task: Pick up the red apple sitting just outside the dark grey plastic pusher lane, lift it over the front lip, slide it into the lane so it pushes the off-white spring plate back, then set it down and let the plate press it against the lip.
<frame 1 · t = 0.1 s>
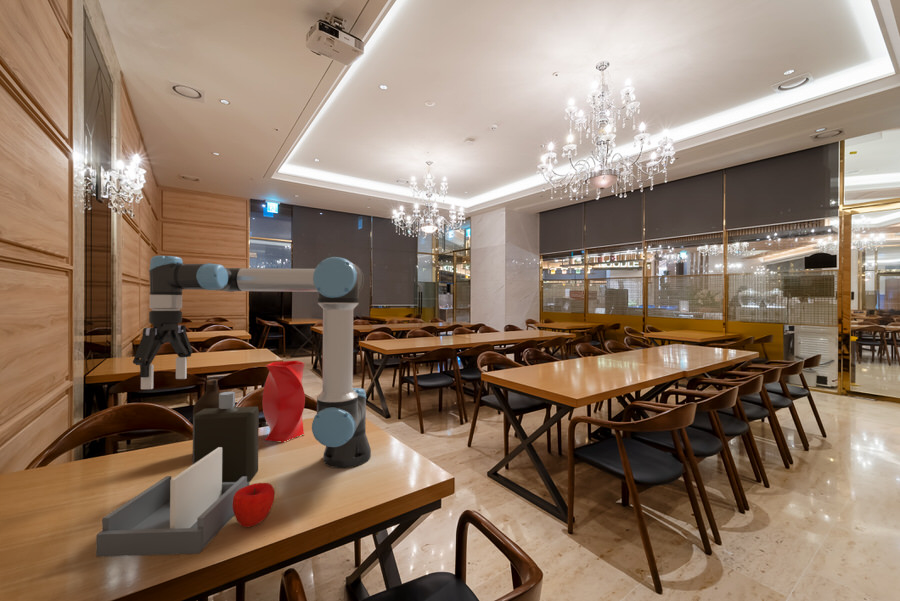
hand: (165, 383, 106), 28 cm above the table, fingers open, 13 cm apart
vase: (286, 436, 142), on the table
pusher: (187, 490, 85), point 8 cm above the table, slide at 0.0 cm
lane: (182, 524, 85), on the table
bottle: (226, 479, 107), on the table
olive oil: (211, 454, 125), on the table
apple: (253, 523, 86), on the table
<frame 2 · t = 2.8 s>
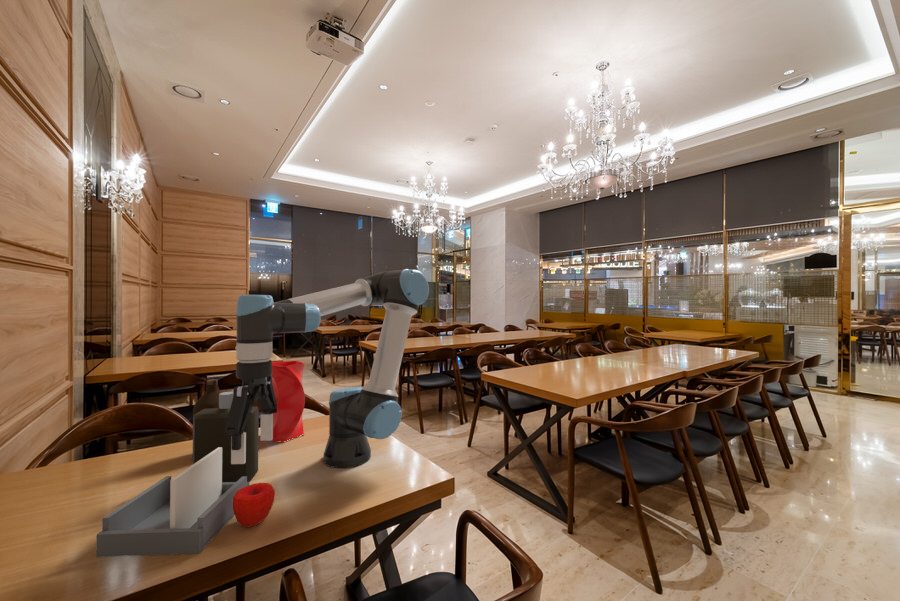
hand: (253, 450, 86), 17 cm above the table, fingers open, 13 cm apart
nothing on the table moved.
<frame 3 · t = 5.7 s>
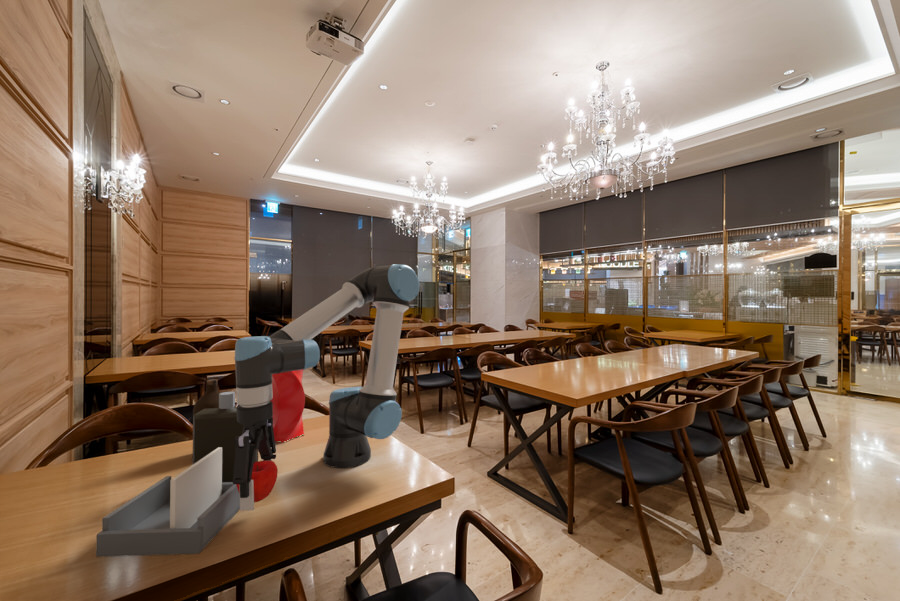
hand: (257, 497, 87), 5 cm above the table, fingers closed on apple, 9 cm apart
apple: (257, 499, 87), point 5 cm above the table, touching gripper
everything else where it was.
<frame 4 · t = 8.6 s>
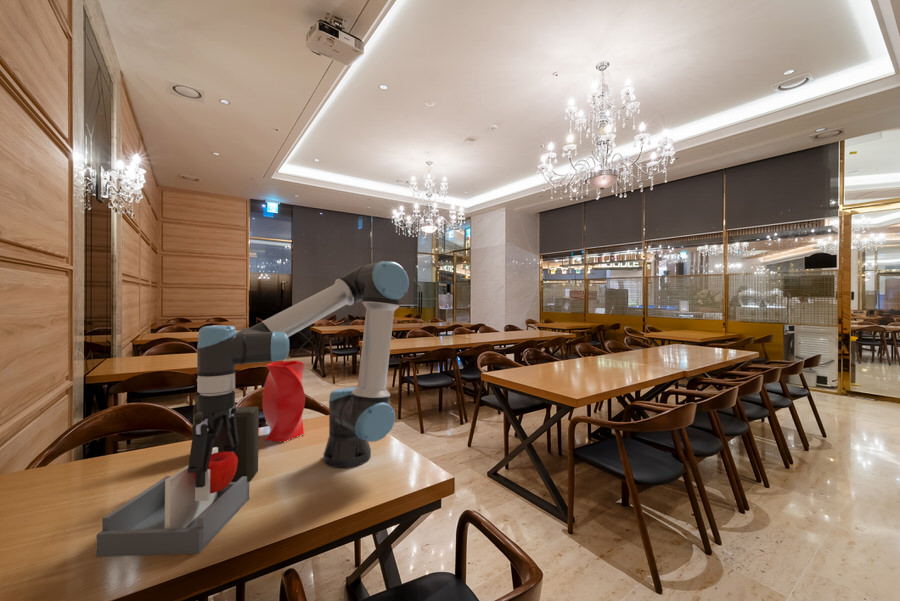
hand: (215, 488, 85), 8 cm above the table, fingers closed on apple, 9 cm apart
pusher: (182, 490, 85), point 8 cm above the table, slide at 1.1 cm, touching apple
apple: (215, 490, 85), point 8 cm above the table, touching gripper, pusher
everything else where it was.
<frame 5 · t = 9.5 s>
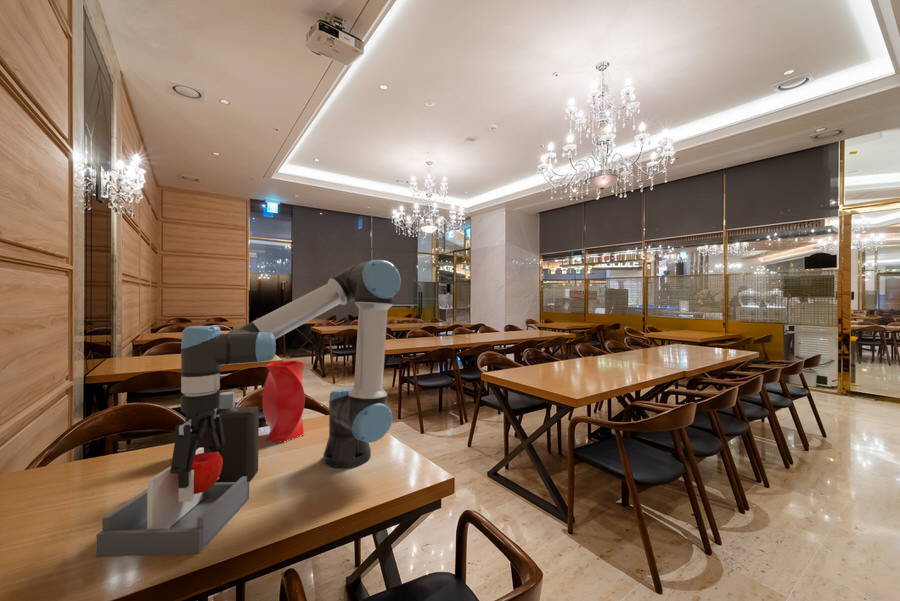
hand: (199, 489, 85), 8 cm above the table, fingers closed on apple, 9 cm apart
pusher: (167, 490, 85), point 8 cm above the table, slide at 4.6 cm
apple: (200, 491, 85), point 7 cm above the table, touching gripper
everything else where it was.
when the fingers open (3 cm above the table, at t = 11.5 s): apple drops 2 cm, resting on lane, pusher.
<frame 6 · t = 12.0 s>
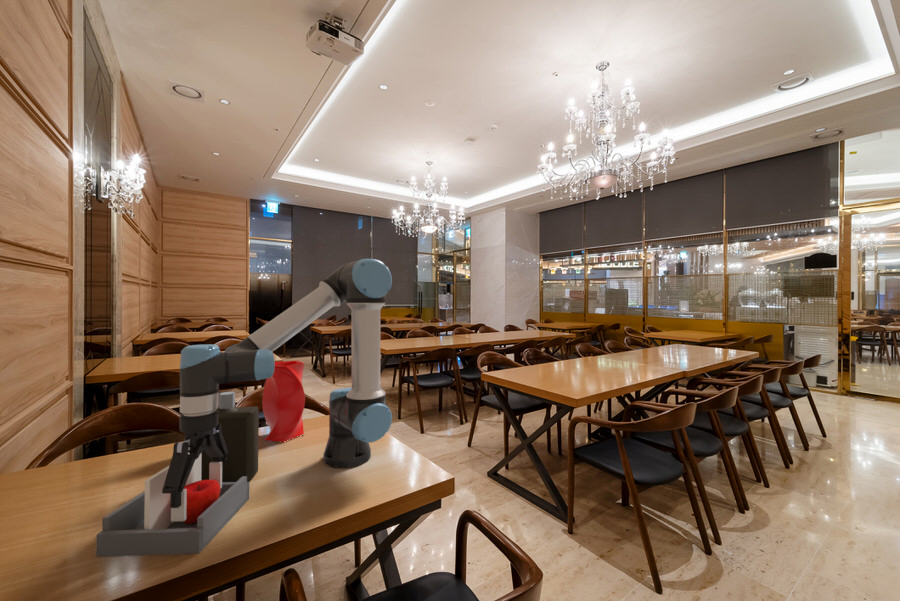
hand: (198, 503, 85), 5 cm above the table, fingers open, 13 cm apart
pusher: (164, 490, 85), point 8 cm above the table, slide at 5.1 cm, touching apple
apple: (197, 520, 85), point 1 cm above the table, touching lane, pusher
everything else where it was.
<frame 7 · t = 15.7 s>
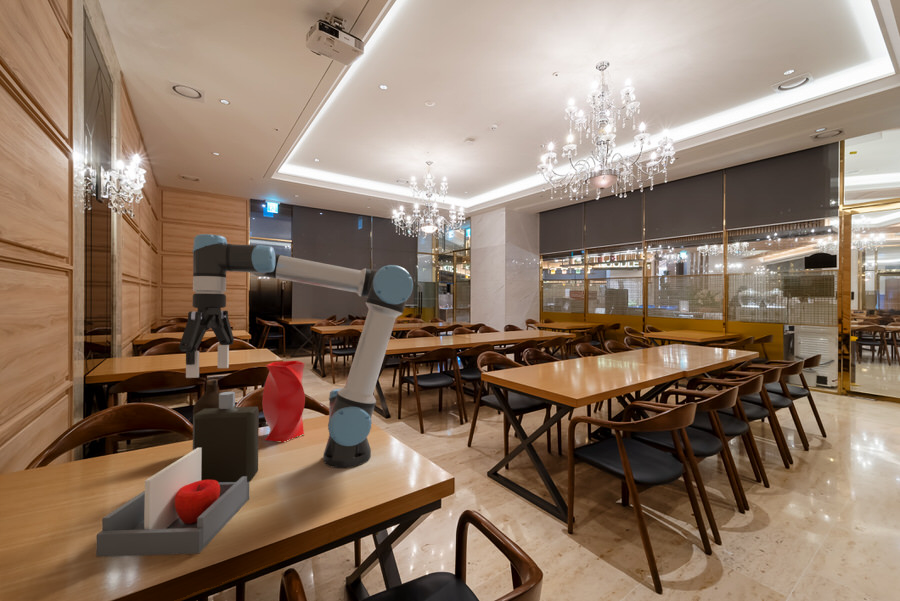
hand: (208, 372, 98), 33 cm above the table, fingers open, 13 cm apart
nothing on the table moved.
at the end: apple inside the target area (0.2 cm from its centre), point 0.8 cm above the table; pusher slide at 5.1 cm; the gripper is holding nothing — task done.
